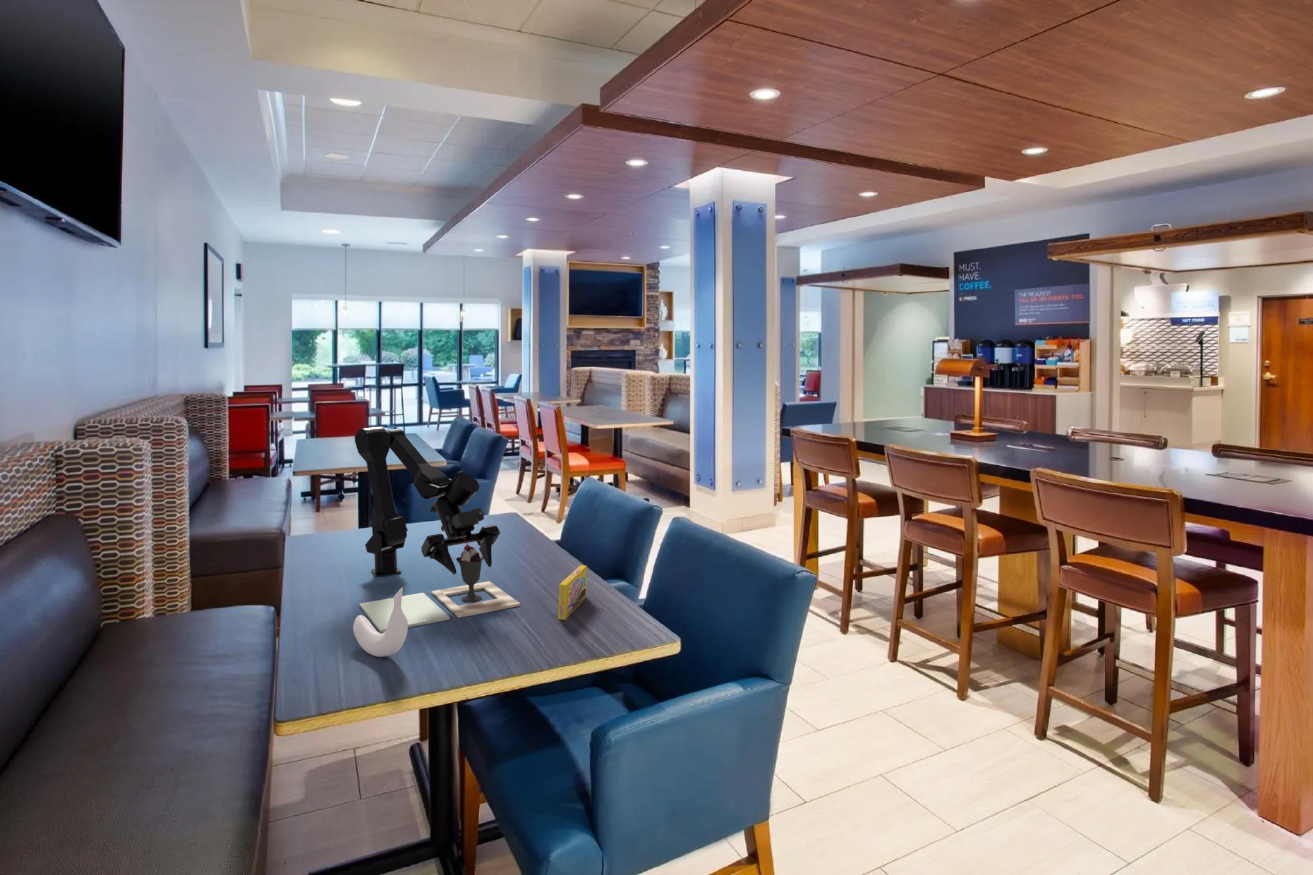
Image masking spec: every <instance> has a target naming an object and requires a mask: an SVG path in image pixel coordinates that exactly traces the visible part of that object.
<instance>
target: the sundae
mask: <svg viewBox="0 0 1313 875" xmlns="http://www.w3.org/2000/svg"><path fill="white" fill-rule="evenodd" d="M463 539H464V540H465V538H463ZM465 541H466V540H465ZM465 544H466V545H464V546H463V551H462V552H461V554H460V556H459V557H456V558H455V560H456V561H457V563H459V567H460V572H461V573H460V574H461V578H462V581H463V582H464V584H465V585H468V586H469V592H468V594H467V595H464V596H462V597H461V598H460V600H461V601H462V602H466V603H476V602H480V601H481V600H482V599H483V596H481V595H480V594H476V593H475V591H474V584H476V583H479V580H480V578H481V573H482V572H481V570H482V563H483V560H484V558H485V557H483V556H482V555H480V551H478V550H477V549H476V548H475V547H472V546H471V545H469V543H467V541H466V543H465Z"/></svg>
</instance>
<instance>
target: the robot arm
mask: <svg viewBox="0 0 1313 875" xmlns="http://www.w3.org/2000/svg"><path fill="white" fill-rule="evenodd" d="M354 443H355V447H356V449H357V452H358V454H359V456H360V457H361V458H362V459H363V460H364V462H365V463H366V467H367V468H366V469H367V472H368V473H367V474H368V478H369V484H370V488H371V493H372V494H371V495H372V499H373V500H372V501H373V506H374V510H375V518H374V520H373V521H372V522H373V523H372V525H371V534H372V535H371V537H370V538H369V540H367V541H366V543H365V544H364V546H365V550H366V553H368V554H374V568H372V569H371V568H370V569H371V573H373V575H375V577H384V576H390V575H395V574H396V575H397V574H401V573H402V570H401V569H400V568H399V567H398V552H397V550H398V549H403V548H404V547H405V542H406V538H407V537H408V533H407V532H408V531H409V529H408V527H407V523H406V522H407V521H406V518H405V516H404V515H403V516H400V515H399V514H398V512H397V510H396V507H395V501H394V497H393V491H392V485H391V480H390V479H391V478H390V474H389V469H388V462H387V456H388V455H389V452H390V450H391V451H392V452H393V453H394V455H395V456H396V457H397V459H398V460H399V461H400V462H401V463H402V465H403V466H404V467H405V469H406V470H407V471H408V472H409V473H410V474H411V476H412V478H413V486H414V488H415V490H416V491H417V493H419V495H420V497H421V498H422V499H424V500H429V499H434V498H437V499H436V500H435V501H432V505H431V507H430V510H429V511H430V513H437V515H438V518H439V520H440V522H441V526H440V530H441V532H444V533H445V536H446V538H445V536H444V534H443V533H434V534H431V535H427V536H426V538H425V539H424V542H423V544H422V545H421V547H420V548H421V549H420V550H421V554H422V556H423V557H424V558H429V559H430V560H432V559H433V560H435V561H436V562H437V563H439V564H440V565H443V566H444V567H445V568H446V569H447V570H448V571H449V572H451V574H453V575H456V574H457V569H456V566H455V562H454V561H453V557H452V556H451V554H450V552H449V547H452V546H457V545H463V544H467V543H468V544H469V543H473V542H474V543H475V542H476V543H477V546H479V548H478V551H479V553H480V554H481V556H482V557H485V558H484V559H483V560H484V562H485V564H486V565H487V566H488V568H491V567H492V564H493V563H492V561H493V560H492V554H493V553H492V547H493V545H494V544H495V543H496V541H497V539H498V537H499V536H500V534H501V531H500V529H499V528H500V527H498V526H497V525H496V524H491V525H485V526H481V528H480V529H479V532H475V533H472V532H473V531H475V526H476V525H478V524H479V523H480V522H482V521H483V520H484V519H485V515H484V511H483V510H482V508H481V507H474V508H473V509H471V510H469V511H465V512H463V509H462V507H461V506H465V505H467V504H468V503H469V501H470V500H471V499H472V498H473V496H475V495H476V493H477V492H478V491H479V489H480V484H479V482H478V480H477V479H475V478H474V477H473V476H471V475H469V474H466V473H465V471H463V470H462V471H461V470H460V471H457V472H456V473H455V474H454V475H453V478H452V479H451V478H449V476H447V475H446V473H444V472H443V471H442V470H441V469H439V468H437V467H435V466H433V465H432V464H430V463H428V462H427V460H426V459H425V458H424V457H423V455H422V454H421V453H420V452H419V451H418V449H417V448H416V447H415V446H414V444H413V443H412V442H411V441H410V440H409V438H408V437H407V436H406V433H405V431H404V430H403V429H401V428H394V429H386V428H385V427H384V426H372V427H364V428H360V429H358V430H357V431H356V434H355V435H354ZM463 538H465V540H466V541H467V543H466V541H465V540H464V539H463Z"/></svg>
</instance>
